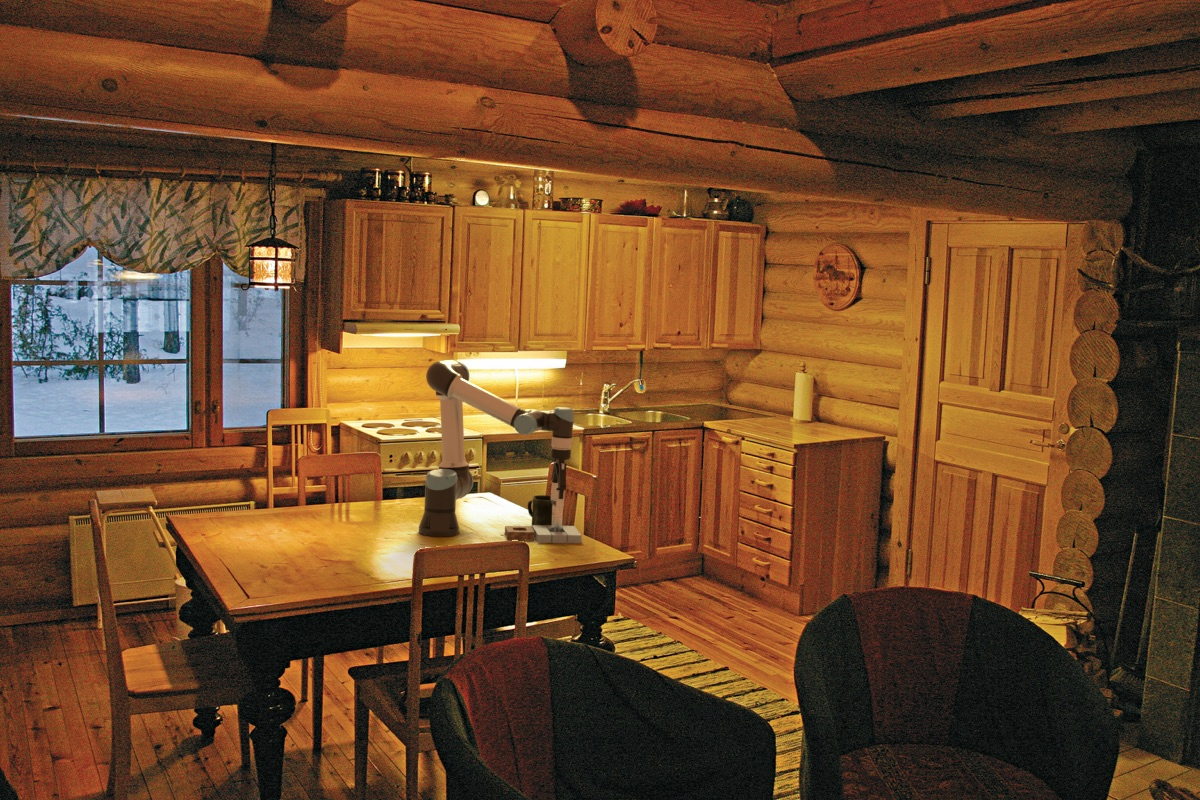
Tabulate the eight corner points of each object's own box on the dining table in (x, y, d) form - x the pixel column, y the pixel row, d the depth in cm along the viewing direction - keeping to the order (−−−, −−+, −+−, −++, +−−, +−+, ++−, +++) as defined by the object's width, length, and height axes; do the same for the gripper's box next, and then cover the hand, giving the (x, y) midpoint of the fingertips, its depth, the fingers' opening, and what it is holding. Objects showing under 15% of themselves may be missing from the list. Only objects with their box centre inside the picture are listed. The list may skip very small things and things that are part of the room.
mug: (546, 532, 416) (547, 501, 415) (518, 525, 425) (520, 495, 424) (563, 528, 424) (565, 498, 423) (536, 521, 433) (538, 492, 432)
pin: (550, 539, 404) (552, 501, 402) (548, 536, 409) (550, 498, 407) (563, 539, 405) (565, 501, 403) (561, 536, 410) (563, 499, 408)
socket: (537, 542, 397) (537, 534, 397) (531, 532, 413) (531, 525, 413) (581, 543, 400) (581, 535, 400) (573, 533, 417) (574, 525, 416)
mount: (507, 539, 399) (508, 531, 399) (504, 533, 409) (505, 525, 409) (534, 540, 401) (534, 532, 401) (530, 534, 411) (531, 526, 411)
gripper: (576, 454, 392) (572, 510, 394) (565, 443, 416) (561, 497, 418) (556, 453, 391) (552, 510, 393) (546, 442, 415) (542, 496, 417)
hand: (556, 503), depth 406 cm, fingers open, 13 cm apart
